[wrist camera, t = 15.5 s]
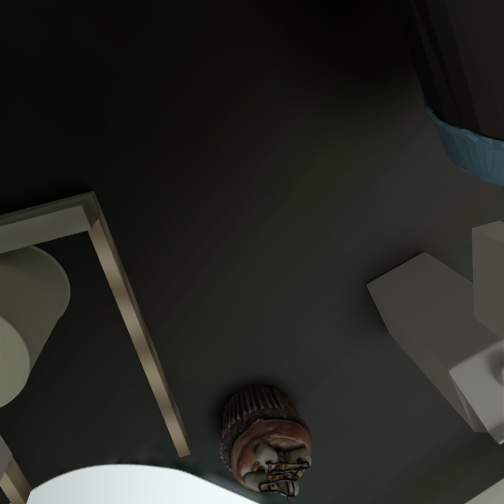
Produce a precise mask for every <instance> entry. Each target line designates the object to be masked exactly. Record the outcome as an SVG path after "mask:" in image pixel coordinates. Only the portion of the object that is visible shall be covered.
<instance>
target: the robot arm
mask: <svg viewBox="0 0 504 504" xmlns="http://www.w3.org/2000/svg"><path fill="white" fill-rule="evenodd" d="M393 2H394V5H395V8H396V11H397V14H398V17H399V20H400V23H401V26H402V29H403V32H404V35H405V37H406V41H407V44H408V47H409V50H410V53H411V56H412V59H413V63H414V66H415V69H416V72H417V75H418V78H419V81H420V85H421V88H422V91H423V94H424V106H425V110H426V112H427V114H428V116H429V117H430V118H431V119H432V121H433V122H434V123H435V125H436V127H437V130H438V132H439V135H440V137H441V140H442V142H443V145H444V148H445V150H446V152H447V154H448V156H449V158H450V159H451V160H452V162H453V163H454V164H455V165H456V166H457V167H458V168H460V169H461V170H463V171H465V172H467V173H469V174H472V175H473V176H475V177H476V178H477V179H479V180H482V181H484V182H488V183H491V184H495V185H499V186H504V0H393ZM472 253H473V291H474V318H475V319H477V320H478V321H479V322H481V323H482V324H483V325H484V326H486V327H487V328H488V329H490V330H491V331H492V332H494V333H495V334H496V335H497V336H499V337H500V338H501V339H503V340H504V222H501V221H496V222H493V223H489V224H485V225H482V226H478V227H475V228H472ZM11 457H12V453H11V452H10V450H9V448H8V447H7V445H6V443H5V442H4V440H3V439H2V437H1V435H0V481H1V479H2V476H3V474H4V472H5V470H6V468H7V466H8V463H9V461H10V459H11Z"/></svg>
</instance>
